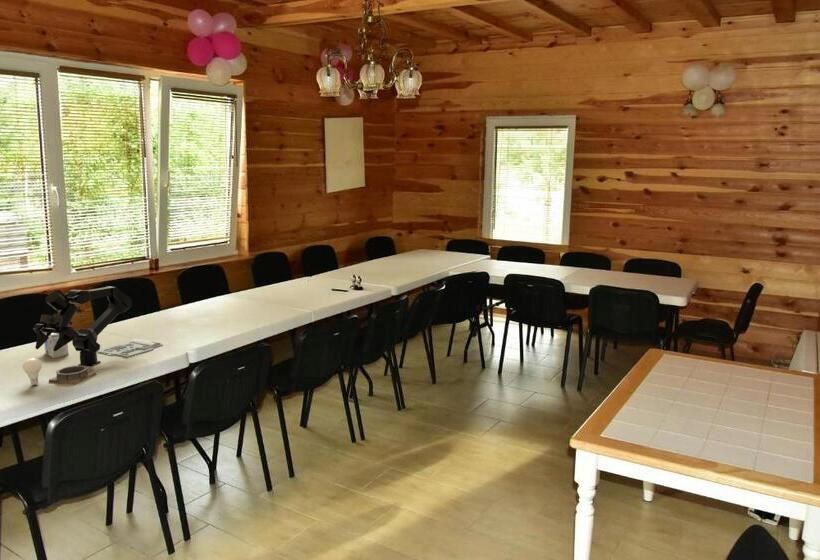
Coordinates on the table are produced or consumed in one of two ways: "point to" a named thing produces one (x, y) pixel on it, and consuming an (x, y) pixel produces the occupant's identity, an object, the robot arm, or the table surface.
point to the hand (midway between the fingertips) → (45, 349)
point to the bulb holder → (72, 375)
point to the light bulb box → (52, 342)
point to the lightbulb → (32, 369)
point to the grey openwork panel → (131, 348)
